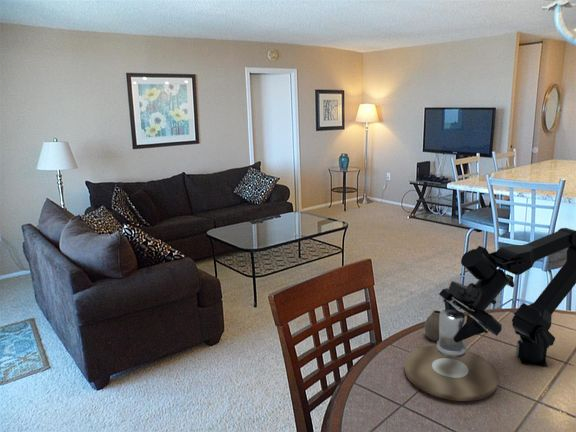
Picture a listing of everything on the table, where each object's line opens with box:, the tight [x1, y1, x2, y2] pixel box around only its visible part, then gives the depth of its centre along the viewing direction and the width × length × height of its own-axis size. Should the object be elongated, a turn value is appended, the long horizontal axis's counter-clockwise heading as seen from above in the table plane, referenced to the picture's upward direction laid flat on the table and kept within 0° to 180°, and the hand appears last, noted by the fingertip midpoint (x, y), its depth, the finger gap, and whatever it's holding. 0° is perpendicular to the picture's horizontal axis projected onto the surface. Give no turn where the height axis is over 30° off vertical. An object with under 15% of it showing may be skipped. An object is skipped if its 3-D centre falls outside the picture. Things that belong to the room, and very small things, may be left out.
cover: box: [436, 309, 467, 358], centre depth 114 cm, size 7×7×10 cm
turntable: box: [404, 345, 499, 402], centre depth 117 cm, size 23×23×2 cm
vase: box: [424, 309, 442, 342], centre depth 136 cm, size 7×7×9 cm
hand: (447, 335), depth 114 cm, fingers closed on cover, 6 cm apart
